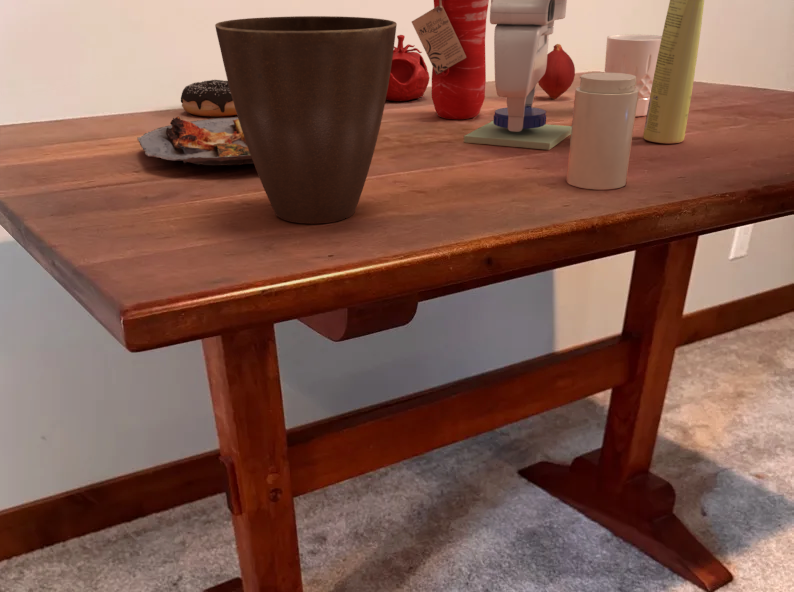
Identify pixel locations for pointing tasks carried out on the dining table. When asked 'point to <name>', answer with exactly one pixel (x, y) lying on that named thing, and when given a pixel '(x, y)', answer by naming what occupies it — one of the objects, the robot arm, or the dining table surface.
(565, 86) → the onion
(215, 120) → the food plate
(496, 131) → the mat
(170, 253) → the dining table surface
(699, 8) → the tube
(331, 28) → the flower pot
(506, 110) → the jar lid
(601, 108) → the white jar
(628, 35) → the white cup
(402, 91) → the red tomato holder
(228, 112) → the donut
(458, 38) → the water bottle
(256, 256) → the dining table surface
